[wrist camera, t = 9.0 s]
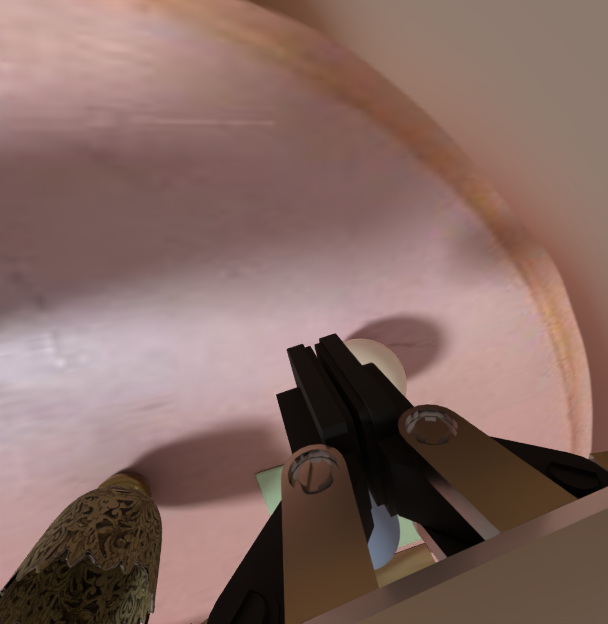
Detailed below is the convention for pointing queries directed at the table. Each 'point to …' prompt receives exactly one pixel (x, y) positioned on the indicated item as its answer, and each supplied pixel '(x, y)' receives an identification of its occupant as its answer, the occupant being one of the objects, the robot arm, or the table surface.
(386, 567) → the stop rail
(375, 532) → the object ball
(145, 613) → the cup
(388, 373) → the cream ball
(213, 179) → the table surface
